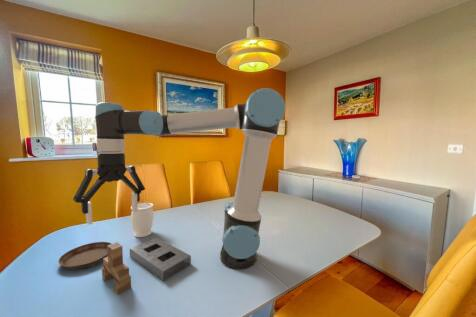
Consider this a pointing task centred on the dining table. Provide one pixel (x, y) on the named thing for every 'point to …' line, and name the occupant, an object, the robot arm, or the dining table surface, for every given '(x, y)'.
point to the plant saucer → (84, 256)
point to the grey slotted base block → (160, 258)
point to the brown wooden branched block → (116, 268)
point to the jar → (142, 220)
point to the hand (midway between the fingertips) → (113, 216)
